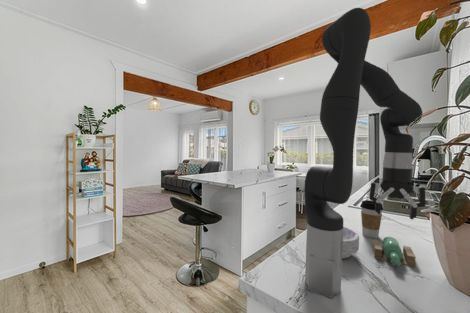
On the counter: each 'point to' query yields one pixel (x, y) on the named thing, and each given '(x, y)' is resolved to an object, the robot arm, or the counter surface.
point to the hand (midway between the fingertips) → (394, 216)
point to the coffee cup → (370, 219)
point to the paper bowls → (349, 242)
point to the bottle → (392, 250)
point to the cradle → (379, 253)
